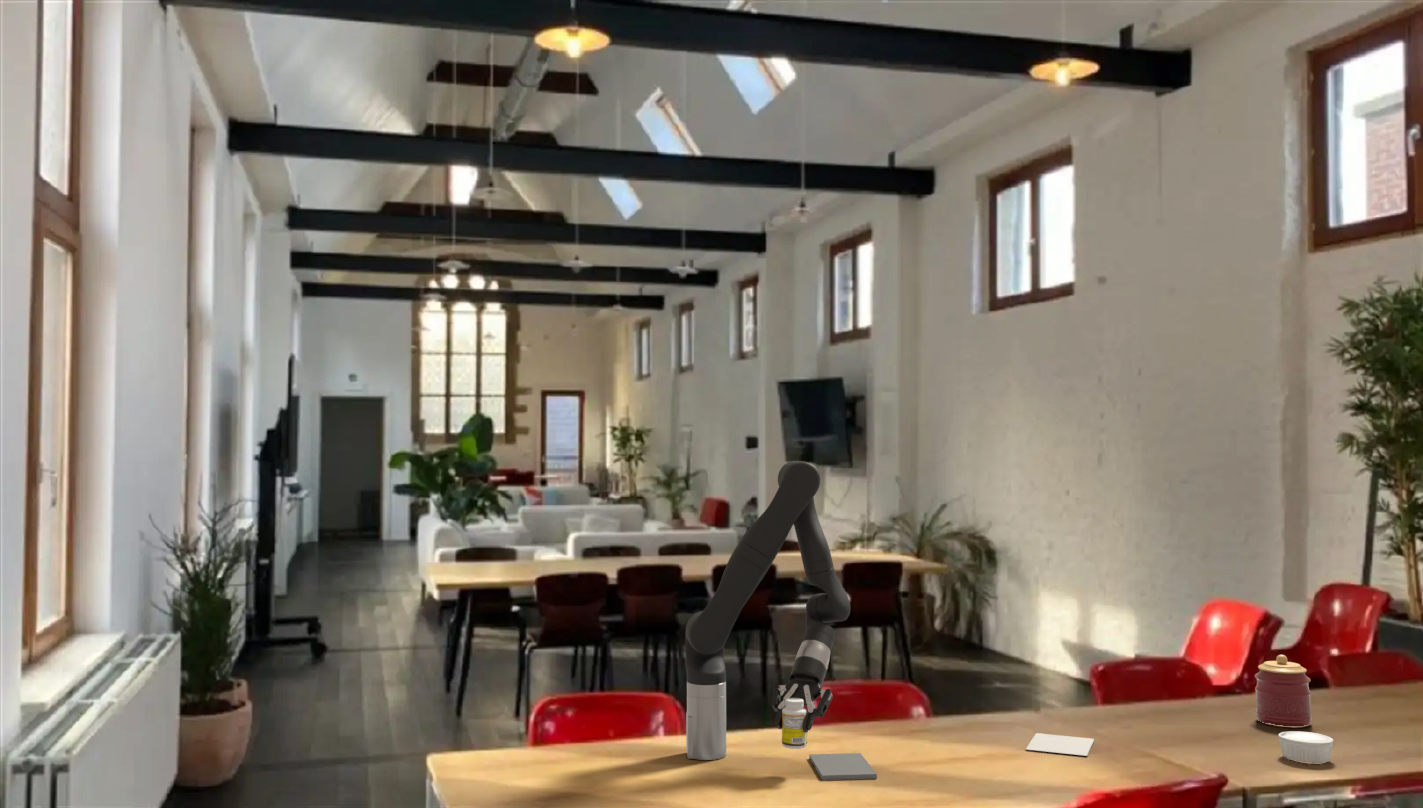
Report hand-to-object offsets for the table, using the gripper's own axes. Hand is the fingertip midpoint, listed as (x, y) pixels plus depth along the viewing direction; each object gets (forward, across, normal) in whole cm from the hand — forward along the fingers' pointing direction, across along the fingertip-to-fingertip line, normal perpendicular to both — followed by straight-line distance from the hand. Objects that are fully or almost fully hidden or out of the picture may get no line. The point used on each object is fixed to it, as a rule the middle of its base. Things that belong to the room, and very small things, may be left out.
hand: (791, 728), depth 244 cm
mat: (0, +8, +14) cm, 17 cm away
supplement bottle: (+2, 0, +4) cm, 5 cm away
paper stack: (-26, +55, +40) cm, 73 cm away
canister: (-63, +100, +75) cm, 139 cm away
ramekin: (-37, +103, +49) cm, 120 cm away
